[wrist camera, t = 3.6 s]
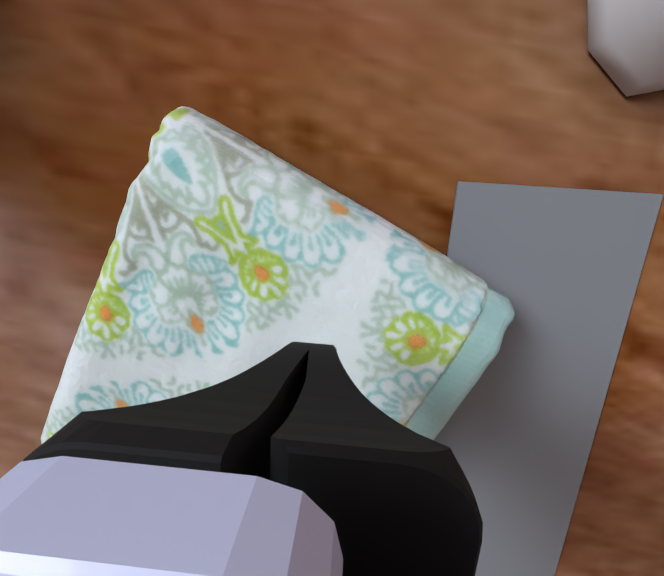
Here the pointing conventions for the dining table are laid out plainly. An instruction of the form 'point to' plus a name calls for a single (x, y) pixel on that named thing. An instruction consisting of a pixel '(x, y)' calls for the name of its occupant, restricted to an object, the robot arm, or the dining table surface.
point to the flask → (628, 42)
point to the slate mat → (542, 354)
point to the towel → (270, 288)
